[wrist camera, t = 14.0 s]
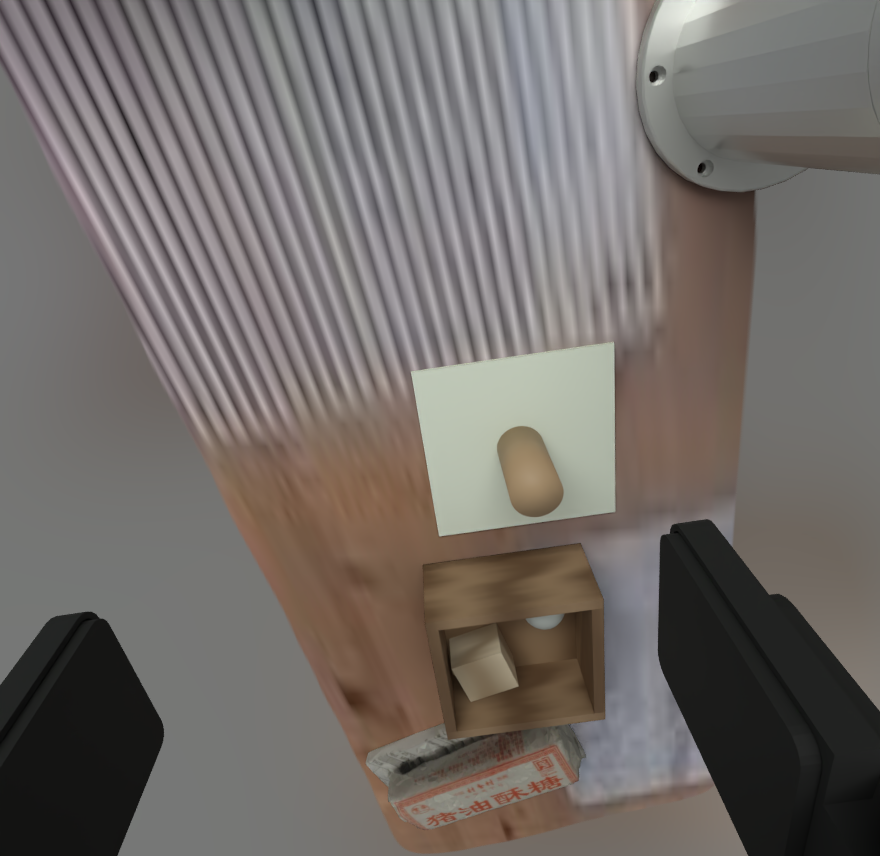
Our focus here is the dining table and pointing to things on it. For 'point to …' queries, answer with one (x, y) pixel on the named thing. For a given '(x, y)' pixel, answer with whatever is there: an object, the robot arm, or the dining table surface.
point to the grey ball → (545, 621)
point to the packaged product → (473, 771)
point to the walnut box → (520, 637)
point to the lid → (519, 438)
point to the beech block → (483, 662)
